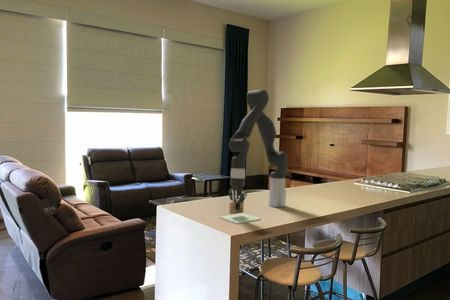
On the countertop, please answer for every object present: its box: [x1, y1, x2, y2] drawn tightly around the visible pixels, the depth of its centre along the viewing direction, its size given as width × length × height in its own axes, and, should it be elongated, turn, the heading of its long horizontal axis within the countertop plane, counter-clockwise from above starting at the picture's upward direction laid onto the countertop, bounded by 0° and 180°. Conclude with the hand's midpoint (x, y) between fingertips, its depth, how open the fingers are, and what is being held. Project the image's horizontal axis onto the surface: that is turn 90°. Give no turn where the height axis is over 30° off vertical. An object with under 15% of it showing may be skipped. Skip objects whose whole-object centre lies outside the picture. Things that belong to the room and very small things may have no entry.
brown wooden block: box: [228, 200, 245, 215], centre depth 199 cm, size 8×2×6 cm, turn 128°
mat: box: [219, 212, 262, 225], centre depth 197 cm, size 16×14×1 cm
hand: (236, 209), depth 200 cm, fingers closed on brown wooden block, 1 cm apart
